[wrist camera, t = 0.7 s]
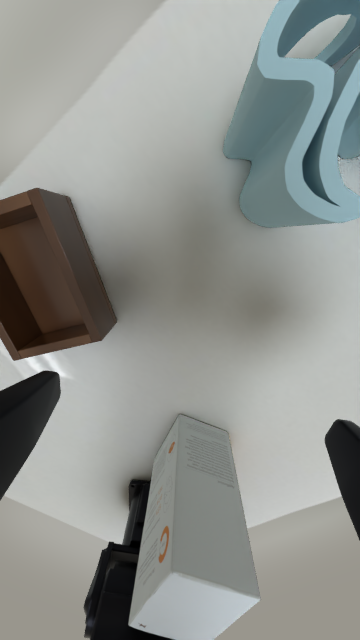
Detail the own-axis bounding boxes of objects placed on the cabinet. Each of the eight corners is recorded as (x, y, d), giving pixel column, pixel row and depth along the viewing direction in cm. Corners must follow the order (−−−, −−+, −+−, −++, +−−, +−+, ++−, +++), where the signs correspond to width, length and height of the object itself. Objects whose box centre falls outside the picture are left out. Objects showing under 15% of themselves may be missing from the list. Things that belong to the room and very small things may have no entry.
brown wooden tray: (69, 196, 18) (37, 187, 14) (117, 322, 22) (101, 340, 18) (-17, 225, 19) (-68, 222, 16) (42, 340, 23) (13, 361, 19)
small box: (199, 474, 29) (206, 650, 17) (153, 458, 28) (124, 628, 16) (230, 431, 26) (264, 602, 14) (179, 411, 26) (168, 574, 13)
